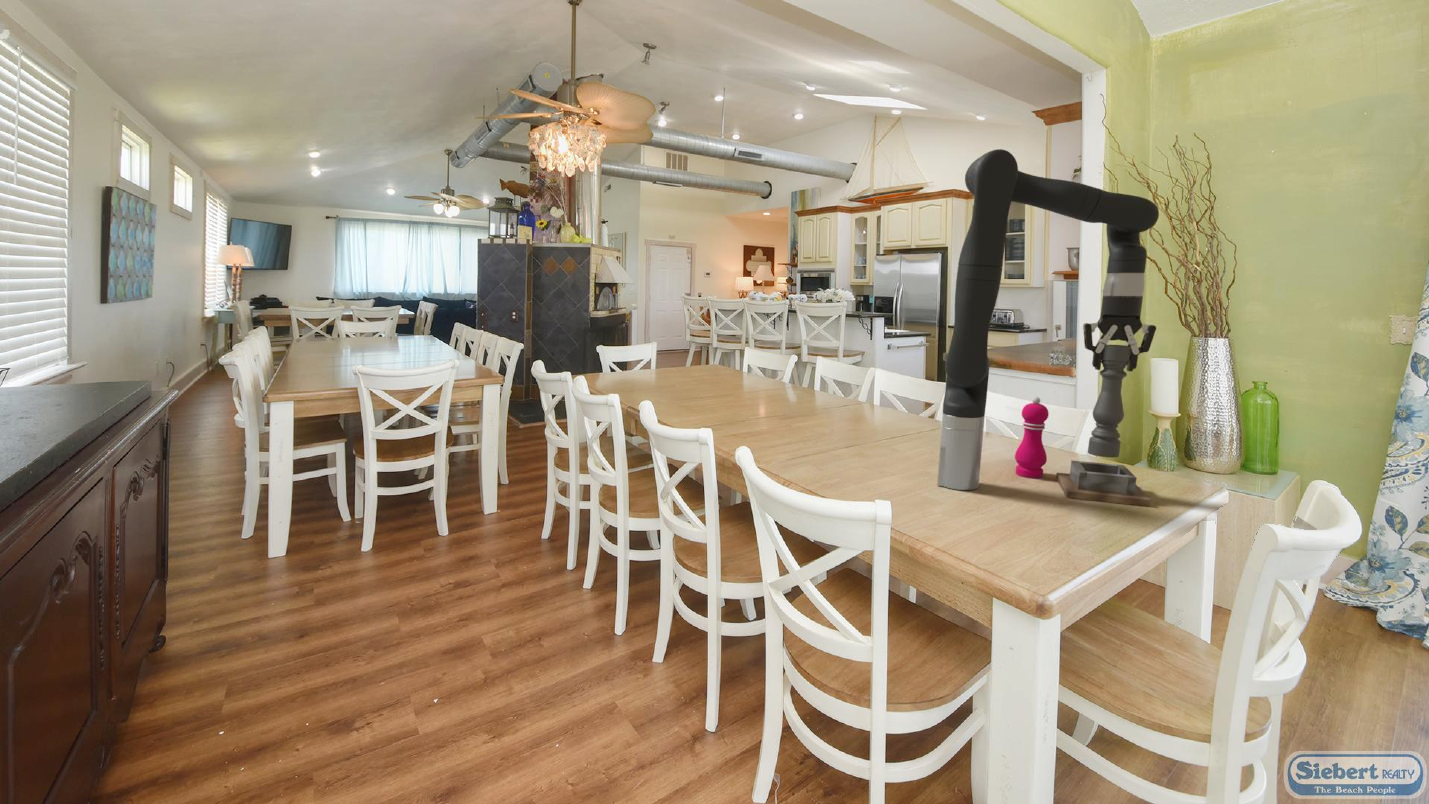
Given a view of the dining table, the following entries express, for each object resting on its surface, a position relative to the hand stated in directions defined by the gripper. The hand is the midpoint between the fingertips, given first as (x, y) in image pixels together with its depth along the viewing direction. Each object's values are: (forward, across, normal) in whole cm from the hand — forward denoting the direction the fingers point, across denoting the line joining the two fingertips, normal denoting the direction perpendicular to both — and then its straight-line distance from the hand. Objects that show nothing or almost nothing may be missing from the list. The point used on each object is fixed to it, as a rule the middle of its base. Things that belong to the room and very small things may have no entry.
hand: (1113, 370), depth 142 cm
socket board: (+29, 0, 0) cm, 29 cm away
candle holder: (+20, 0, 0) cm, 20 cm away
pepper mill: (+29, -14, +9) cm, 33 cm away
